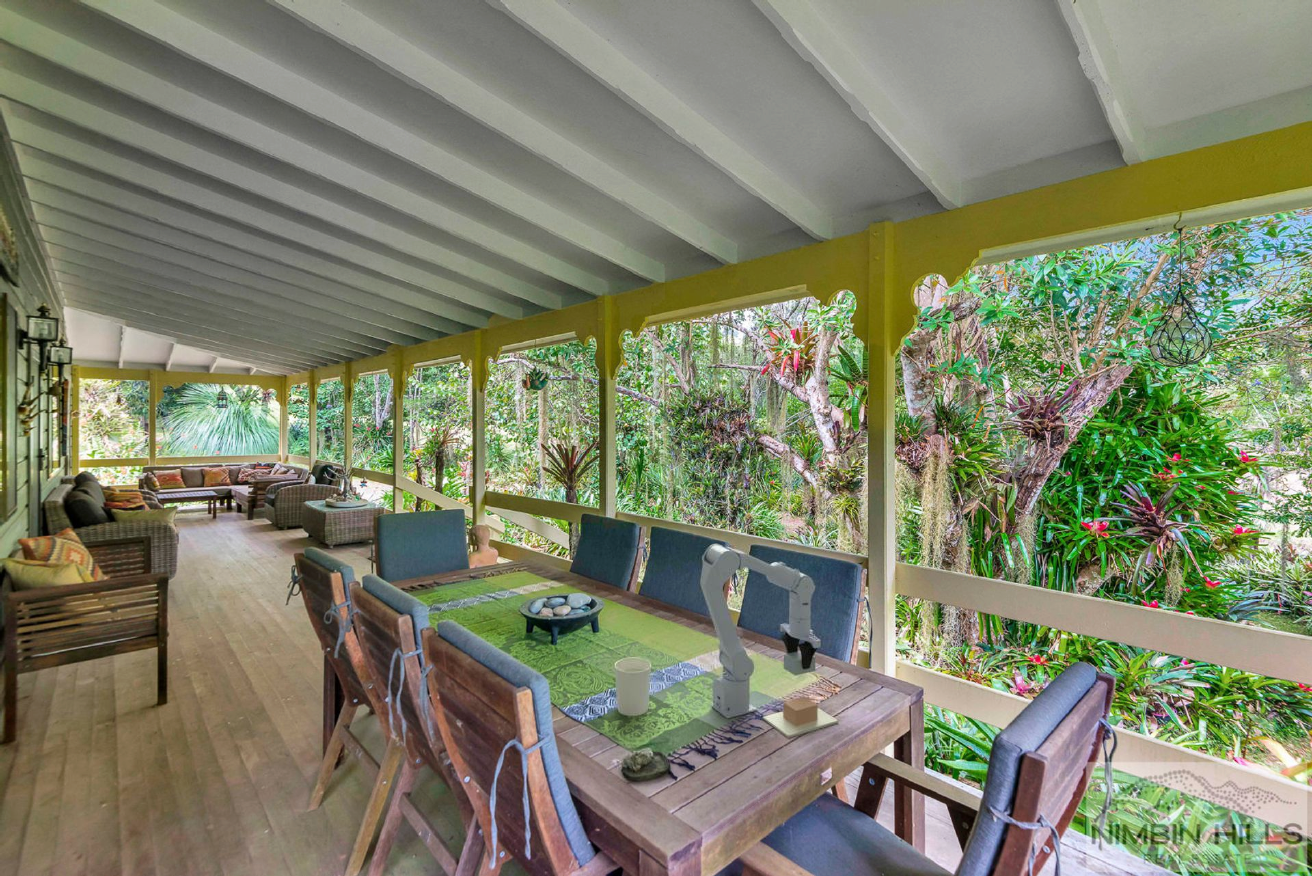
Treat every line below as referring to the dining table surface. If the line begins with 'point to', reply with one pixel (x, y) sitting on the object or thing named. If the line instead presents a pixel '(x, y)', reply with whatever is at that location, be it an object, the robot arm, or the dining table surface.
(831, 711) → the dining table surface
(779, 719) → the baseboard
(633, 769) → the dark green oval dish
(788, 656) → the slate brick
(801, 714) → the terracotta brick
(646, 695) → the candle holder
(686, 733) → the dining table surface
